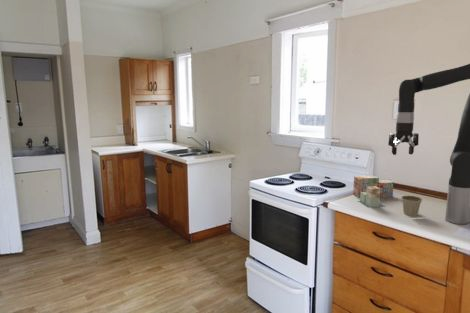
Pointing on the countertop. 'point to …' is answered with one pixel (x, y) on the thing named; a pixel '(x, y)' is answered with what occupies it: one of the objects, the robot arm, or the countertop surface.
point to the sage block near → (372, 202)
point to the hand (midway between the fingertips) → (402, 154)
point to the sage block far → (363, 197)
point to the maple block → (373, 192)
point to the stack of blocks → (365, 181)
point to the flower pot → (411, 205)
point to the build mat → (370, 207)
